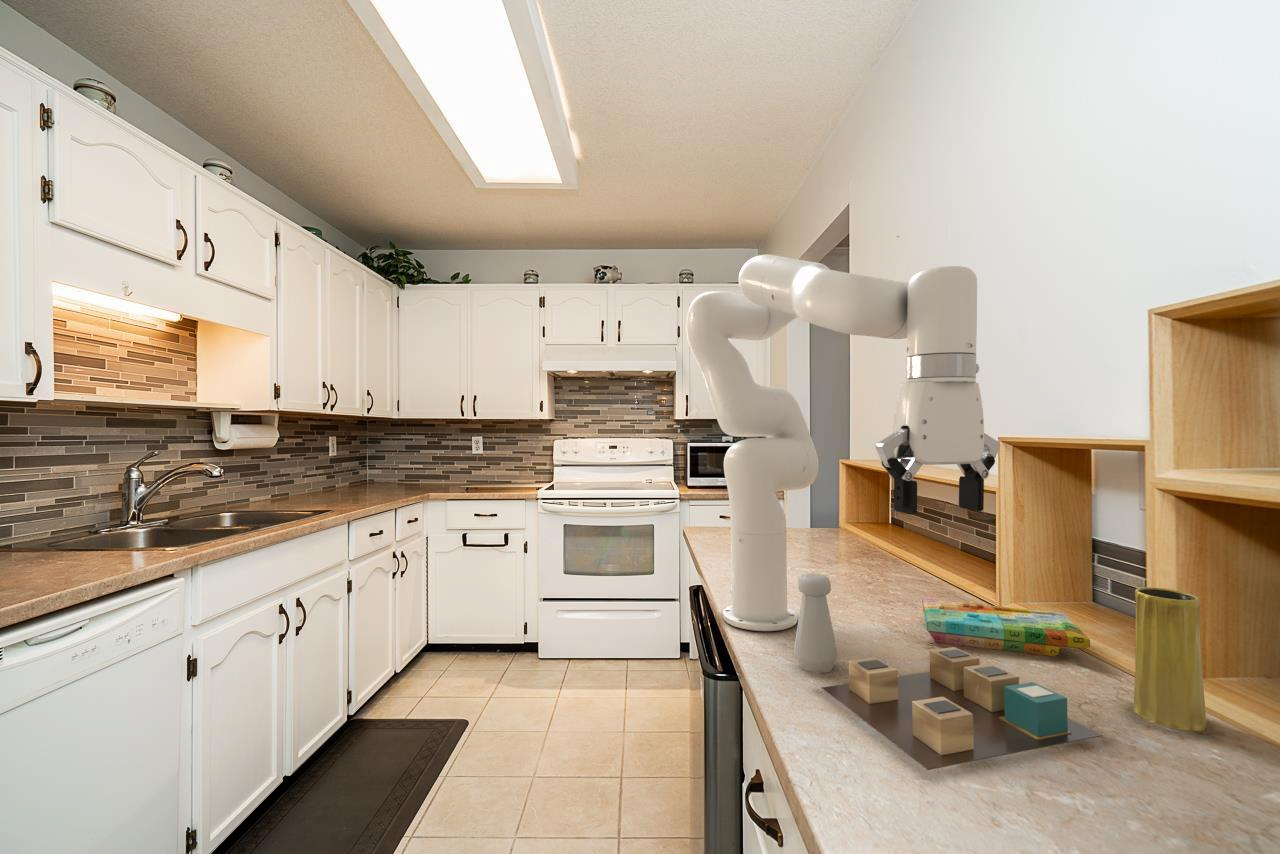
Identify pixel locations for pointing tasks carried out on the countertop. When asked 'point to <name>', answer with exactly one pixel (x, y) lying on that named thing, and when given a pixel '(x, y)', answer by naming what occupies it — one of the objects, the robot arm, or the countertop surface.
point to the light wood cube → (873, 680)
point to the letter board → (988, 726)
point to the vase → (1168, 659)
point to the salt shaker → (815, 626)
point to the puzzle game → (1001, 627)
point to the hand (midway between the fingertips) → (938, 511)
